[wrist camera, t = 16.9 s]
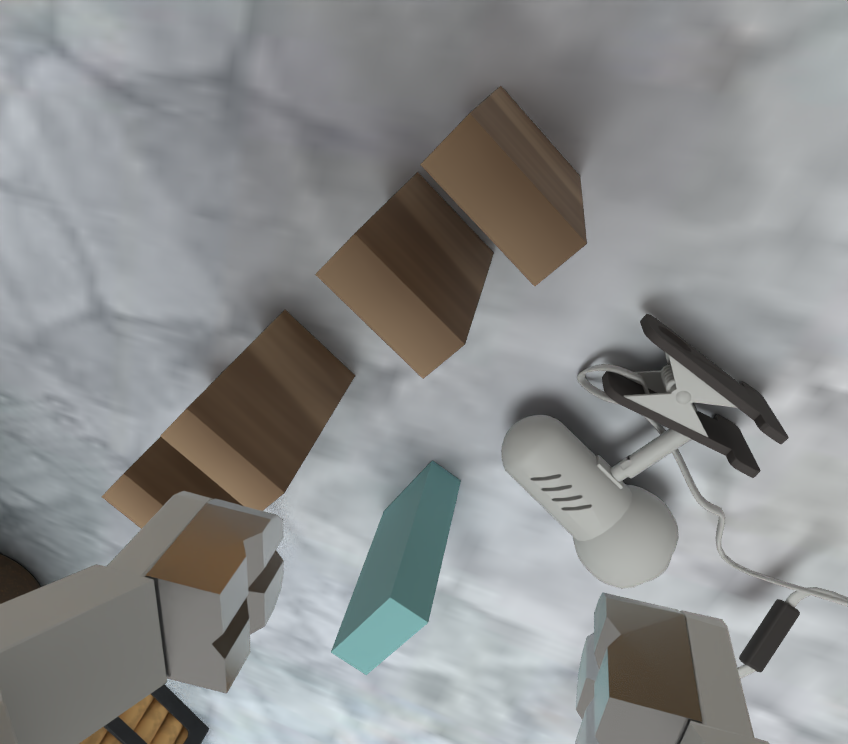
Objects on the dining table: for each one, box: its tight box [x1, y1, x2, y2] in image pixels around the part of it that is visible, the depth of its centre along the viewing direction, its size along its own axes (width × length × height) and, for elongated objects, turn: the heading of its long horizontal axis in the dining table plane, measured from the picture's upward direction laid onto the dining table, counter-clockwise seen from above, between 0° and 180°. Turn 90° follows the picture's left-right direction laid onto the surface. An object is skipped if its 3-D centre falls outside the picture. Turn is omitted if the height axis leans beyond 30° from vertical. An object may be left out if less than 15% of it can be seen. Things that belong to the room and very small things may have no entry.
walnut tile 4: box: [161, 310, 355, 511], centre depth 30 cm, size 2×5×10 cm, turn 46°
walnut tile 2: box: [315, 172, 494, 379], centre depth 26 cm, size 2×5×10 cm, turn 46°
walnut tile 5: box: [102, 437, 243, 529], centre depth 32 cm, size 2×5×10 cm, turn 45°
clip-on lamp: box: [501, 314, 848, 679], centre depth 31 cm, size 12×6×18 cm
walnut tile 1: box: [420, 86, 587, 286], centre depth 23 cm, size 2×5×10 cm, turn 45°
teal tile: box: [331, 461, 461, 675], centre depth 33 cm, size 2×5×10 cm, turn 145°
